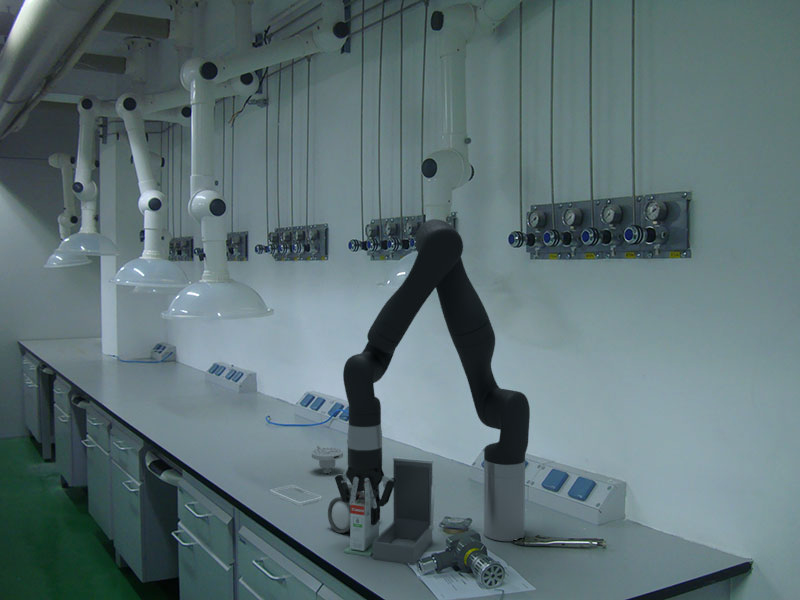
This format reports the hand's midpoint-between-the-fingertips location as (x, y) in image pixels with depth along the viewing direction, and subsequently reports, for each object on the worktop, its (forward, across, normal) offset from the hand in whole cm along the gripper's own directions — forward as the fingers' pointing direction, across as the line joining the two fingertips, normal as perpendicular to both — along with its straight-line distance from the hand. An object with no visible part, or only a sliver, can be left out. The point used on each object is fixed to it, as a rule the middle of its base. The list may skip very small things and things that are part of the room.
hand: (365, 522), depth 148 cm
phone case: (+6, +31, -26) cm, 41 cm away
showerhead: (+6, +33, -50) cm, 60 cm away
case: (+5, -9, -1) cm, 10 cm away
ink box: (+5, 0, 0) cm, 5 cm away
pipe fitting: (+6, +7, -11) cm, 14 cm away
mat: (+5, 0, 0) cm, 5 cm away
